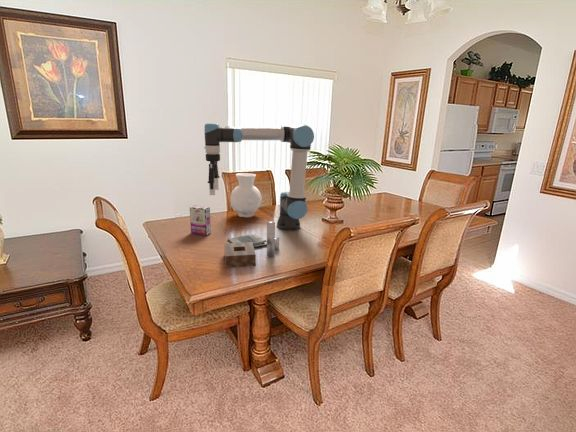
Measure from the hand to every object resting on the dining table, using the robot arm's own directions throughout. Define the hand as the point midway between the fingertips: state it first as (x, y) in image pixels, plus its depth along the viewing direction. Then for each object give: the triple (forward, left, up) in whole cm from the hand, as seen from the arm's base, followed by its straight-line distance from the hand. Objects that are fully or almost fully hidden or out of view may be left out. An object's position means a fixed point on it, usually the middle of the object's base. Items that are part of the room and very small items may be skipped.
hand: (214, 192), depth 184 cm
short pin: (-31, +20, -27) cm, 46 cm away
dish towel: (-17, +10, -28) cm, 34 cm away
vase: (-21, -43, -28) cm, 55 cm away
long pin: (-27, +29, -27) cm, 48 cm away
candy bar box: (+9, -10, -28) cm, 31 cm away
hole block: (-11, +32, -27) cm, 43 cm away
